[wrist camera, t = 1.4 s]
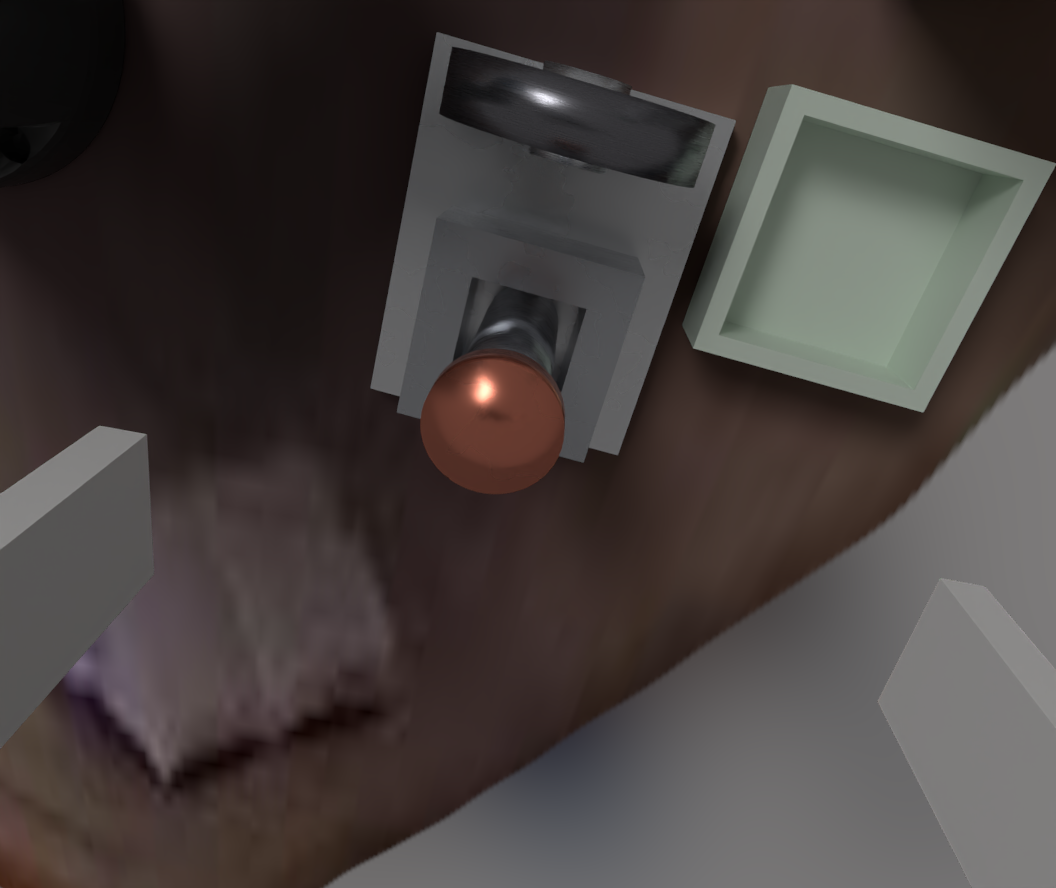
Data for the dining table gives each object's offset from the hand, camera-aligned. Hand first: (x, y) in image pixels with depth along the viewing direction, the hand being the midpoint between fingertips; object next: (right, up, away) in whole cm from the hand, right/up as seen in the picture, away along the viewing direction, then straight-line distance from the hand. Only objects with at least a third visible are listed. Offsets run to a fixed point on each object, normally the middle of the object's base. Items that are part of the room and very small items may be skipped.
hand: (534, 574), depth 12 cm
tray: (+13, +11, +19) cm, 25 cm away
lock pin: (0, +8, +20) cm, 22 cm away
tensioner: (0, +10, +20) cm, 23 cm away
